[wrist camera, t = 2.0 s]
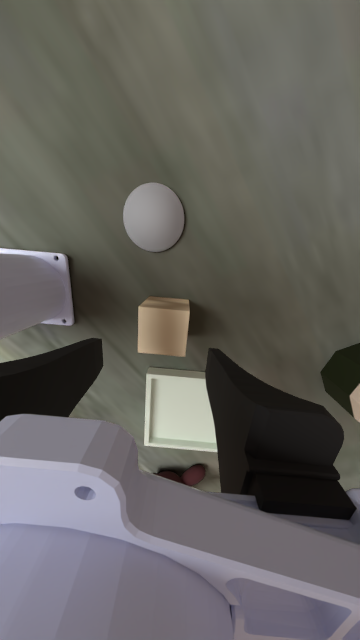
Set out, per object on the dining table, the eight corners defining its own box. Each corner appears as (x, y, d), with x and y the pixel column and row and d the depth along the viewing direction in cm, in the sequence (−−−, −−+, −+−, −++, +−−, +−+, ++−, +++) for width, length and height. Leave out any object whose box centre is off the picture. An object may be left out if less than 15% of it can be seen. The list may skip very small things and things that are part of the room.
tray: (146, 435, 27) (144, 445, 25) (148, 366, 23) (146, 373, 22) (225, 442, 27) (228, 453, 25) (241, 375, 23) (244, 382, 22)
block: (148, 332, 22) (137, 352, 17) (149, 296, 20) (138, 306, 16) (185, 335, 22) (185, 356, 17) (188, 299, 20) (189, 311, 16)
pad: (124, 249, 19) (123, 249, 18) (123, 181, 17) (122, 179, 17) (181, 254, 19) (181, 254, 18) (187, 186, 17) (187, 185, 17)
